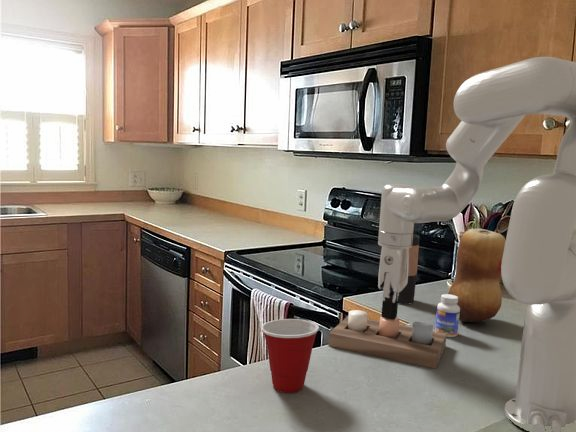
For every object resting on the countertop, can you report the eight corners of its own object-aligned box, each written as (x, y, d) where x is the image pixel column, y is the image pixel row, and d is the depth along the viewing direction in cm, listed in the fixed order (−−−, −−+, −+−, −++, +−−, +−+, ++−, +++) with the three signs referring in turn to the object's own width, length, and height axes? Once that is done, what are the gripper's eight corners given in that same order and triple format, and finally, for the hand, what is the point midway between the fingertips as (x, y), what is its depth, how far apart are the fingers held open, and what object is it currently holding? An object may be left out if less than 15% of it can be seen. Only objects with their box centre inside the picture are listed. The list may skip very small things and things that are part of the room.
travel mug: (383, 298, 157) (388, 233, 154) (403, 296, 160) (408, 232, 157) (398, 305, 150) (404, 238, 147) (419, 303, 153) (425, 237, 151)
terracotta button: (395, 340, 116) (396, 323, 115) (376, 336, 118) (377, 319, 117) (399, 334, 120) (401, 317, 119) (381, 330, 122) (382, 314, 121)
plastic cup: (291, 368, 105) (294, 311, 103) (327, 389, 97) (331, 328, 95) (247, 381, 98) (249, 321, 97) (282, 405, 90) (285, 339, 88)
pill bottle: (432, 334, 128) (436, 296, 126) (437, 328, 132) (440, 291, 131) (455, 339, 125) (458, 300, 124) (459, 332, 130) (462, 295, 129)
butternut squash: (492, 334, 130) (502, 236, 126) (439, 322, 137) (448, 229, 134) (504, 320, 141) (513, 230, 138) (455, 309, 149) (462, 224, 145)
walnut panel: (436, 368, 108) (437, 354, 108) (328, 345, 118) (329, 333, 117) (445, 346, 121) (446, 333, 120) (347, 327, 130) (348, 315, 130)
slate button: (429, 347, 113) (431, 329, 112) (409, 343, 115) (410, 325, 114) (432, 340, 117) (434, 323, 116) (413, 336, 119) (414, 320, 118)
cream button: (363, 334, 119) (364, 317, 119) (345, 330, 121) (346, 314, 120) (368, 328, 123) (369, 312, 122) (351, 324, 125) (352, 308, 124)
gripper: (404, 246, 108) (398, 330, 110) (418, 236, 121) (412, 311, 124) (369, 242, 111) (364, 324, 113) (386, 232, 124) (381, 305, 127)
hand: (389, 317), depth 118 cm, fingers closed
